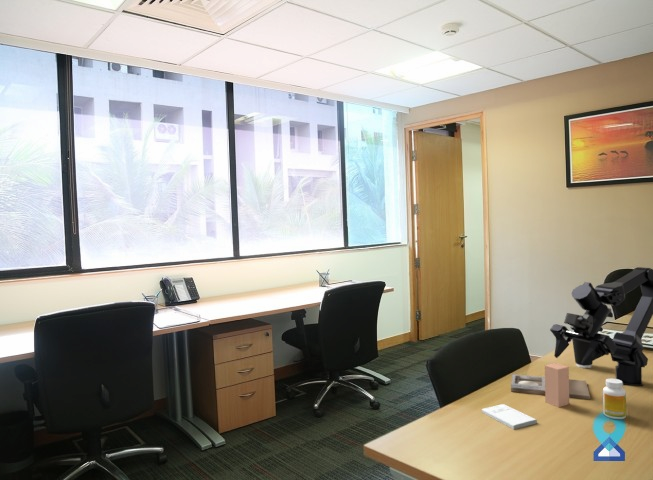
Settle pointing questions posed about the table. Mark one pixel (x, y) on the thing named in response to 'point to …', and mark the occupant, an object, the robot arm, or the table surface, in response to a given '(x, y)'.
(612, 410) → the supplement bottle
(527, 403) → the table surface
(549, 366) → the terracotta pin
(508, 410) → the external hard drive
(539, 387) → the board
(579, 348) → the dixie cup
